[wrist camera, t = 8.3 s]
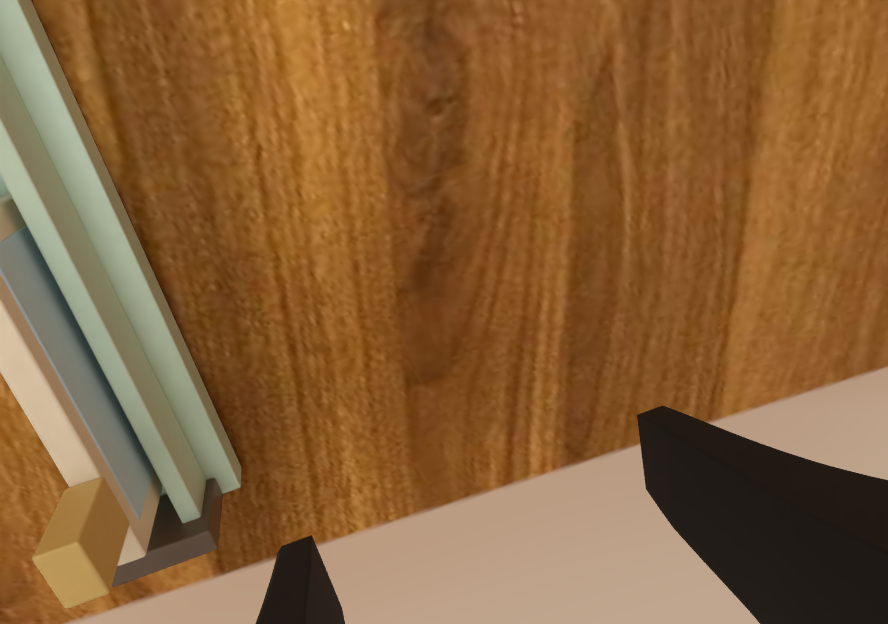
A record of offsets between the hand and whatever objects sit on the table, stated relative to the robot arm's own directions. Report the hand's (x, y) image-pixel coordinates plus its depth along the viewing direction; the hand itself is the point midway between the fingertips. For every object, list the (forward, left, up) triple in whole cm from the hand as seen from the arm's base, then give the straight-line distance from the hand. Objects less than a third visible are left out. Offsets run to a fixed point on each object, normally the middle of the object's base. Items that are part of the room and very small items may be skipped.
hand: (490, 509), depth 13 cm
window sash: (+3, +9, -9) cm, 13 cm away
